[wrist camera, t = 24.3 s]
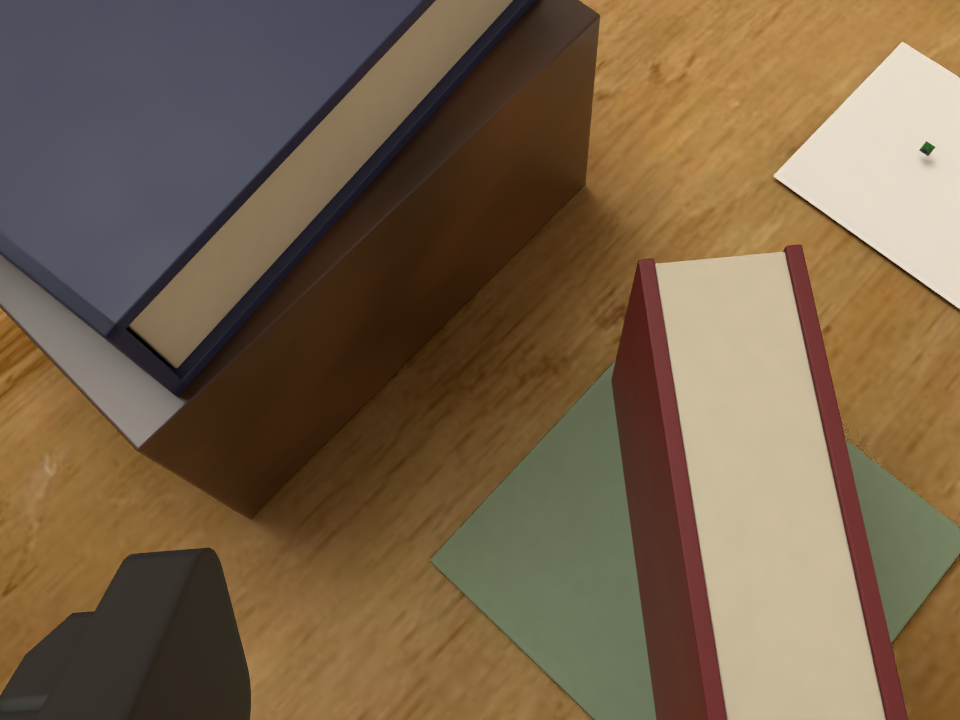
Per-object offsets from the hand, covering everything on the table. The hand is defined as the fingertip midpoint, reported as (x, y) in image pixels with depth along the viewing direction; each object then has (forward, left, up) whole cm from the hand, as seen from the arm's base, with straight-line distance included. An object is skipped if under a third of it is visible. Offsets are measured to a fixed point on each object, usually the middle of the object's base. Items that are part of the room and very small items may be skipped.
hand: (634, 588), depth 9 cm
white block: (+19, +11, -21) cm, 30 cm away
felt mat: (+5, +2, -21) cm, 21 cm away
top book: (+5, +1, -20) cm, 21 cm away
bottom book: (-3, +18, -11) cm, 21 cm away
